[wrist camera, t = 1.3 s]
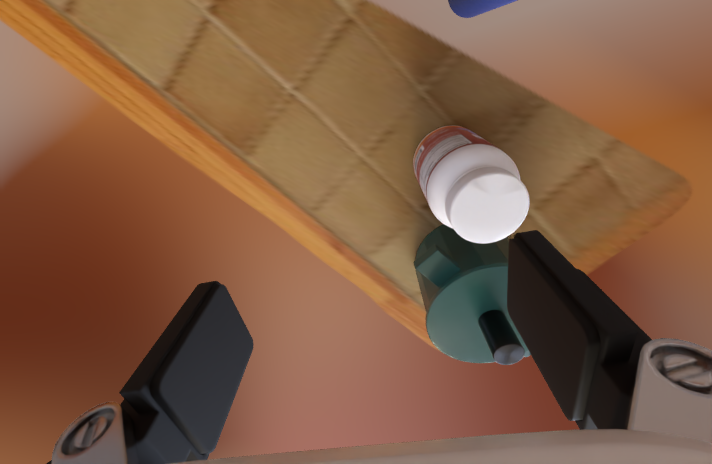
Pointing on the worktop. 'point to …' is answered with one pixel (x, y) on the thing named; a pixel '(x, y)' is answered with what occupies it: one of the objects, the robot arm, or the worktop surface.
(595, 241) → the worktop surface
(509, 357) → the pot lid
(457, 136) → the pill bottle
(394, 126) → the worktop surface
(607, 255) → the worktop surface
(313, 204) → the worktop surface
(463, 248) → the pot
